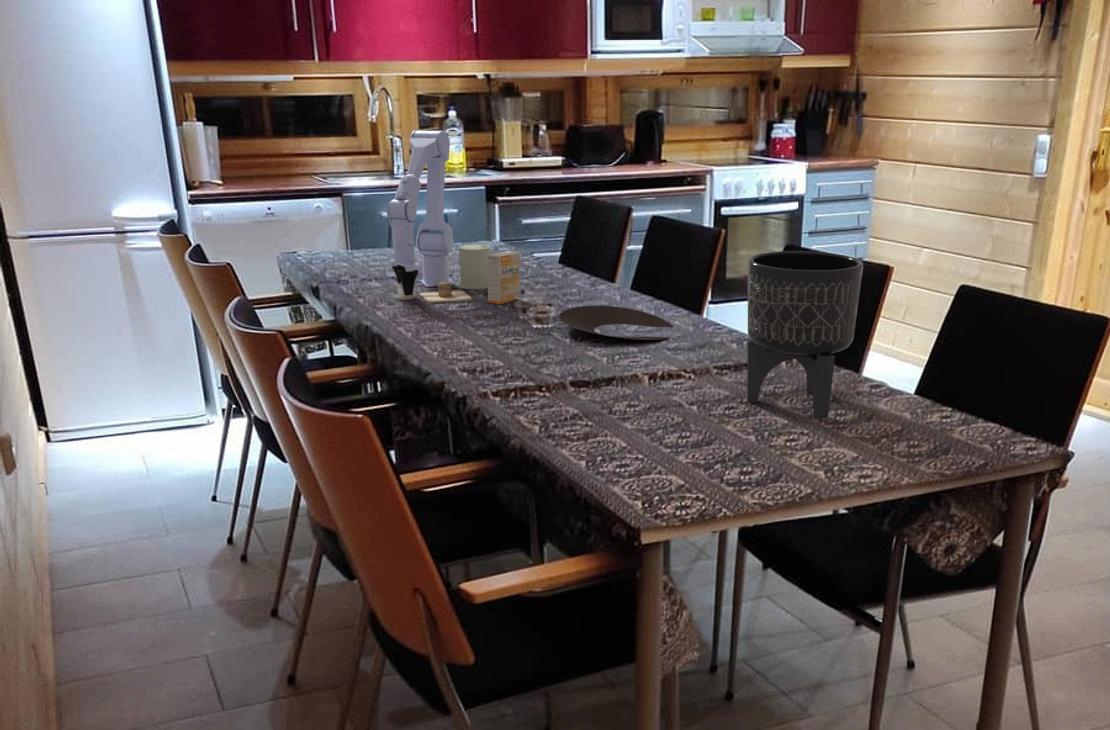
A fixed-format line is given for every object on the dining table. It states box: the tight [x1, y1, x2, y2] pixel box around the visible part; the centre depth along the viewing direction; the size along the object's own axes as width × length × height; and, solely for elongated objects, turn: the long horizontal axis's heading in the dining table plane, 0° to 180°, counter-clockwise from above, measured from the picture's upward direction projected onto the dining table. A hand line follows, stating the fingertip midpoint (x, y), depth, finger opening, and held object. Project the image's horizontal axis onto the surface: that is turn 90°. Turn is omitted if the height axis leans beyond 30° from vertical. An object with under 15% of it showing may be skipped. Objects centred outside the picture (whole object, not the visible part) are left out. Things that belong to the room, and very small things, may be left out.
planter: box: [746, 250, 864, 419], centre depth 169 cm, size 20×20×26 cm
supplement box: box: [487, 250, 521, 305], centre depth 254 cm, size 8×5×13 cm, turn 143°
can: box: [458, 243, 491, 290], centre depth 273 cm, size 9×9×12 cm
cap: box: [396, 282, 416, 301], centre depth 260 cm, size 5×5×4 cm
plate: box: [558, 305, 675, 341], centre depth 224 cm, size 28×28×4 cm
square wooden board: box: [418, 281, 473, 305], centre depth 260 cm, size 12×12×4 cm
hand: (406, 292), depth 260 cm, fingers open, 6 cm apart
